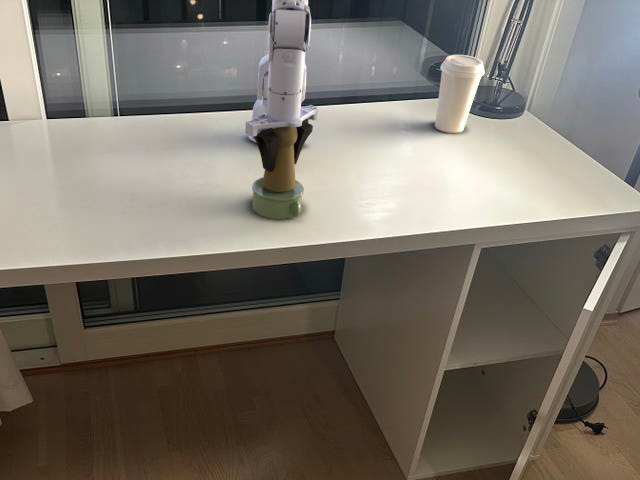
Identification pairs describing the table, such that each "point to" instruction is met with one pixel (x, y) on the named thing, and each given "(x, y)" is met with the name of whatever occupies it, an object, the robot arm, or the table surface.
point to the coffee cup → (457, 91)
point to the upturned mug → (277, 201)
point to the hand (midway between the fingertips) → (279, 166)
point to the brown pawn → (282, 162)
